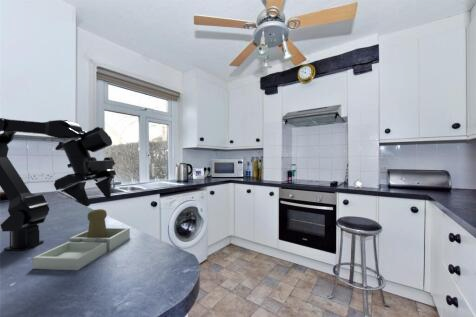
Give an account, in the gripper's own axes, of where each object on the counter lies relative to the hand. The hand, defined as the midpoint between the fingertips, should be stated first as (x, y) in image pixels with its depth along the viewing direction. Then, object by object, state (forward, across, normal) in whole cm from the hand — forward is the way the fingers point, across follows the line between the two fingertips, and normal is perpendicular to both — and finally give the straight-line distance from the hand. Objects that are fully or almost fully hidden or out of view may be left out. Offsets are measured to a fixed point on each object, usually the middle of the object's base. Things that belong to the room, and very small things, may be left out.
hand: (99, 202), depth 66 cm
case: (+13, 0, +5) cm, 14 cm away
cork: (+12, 0, +7) cm, 14 cm away
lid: (+12, -11, +5) cm, 17 cm away
